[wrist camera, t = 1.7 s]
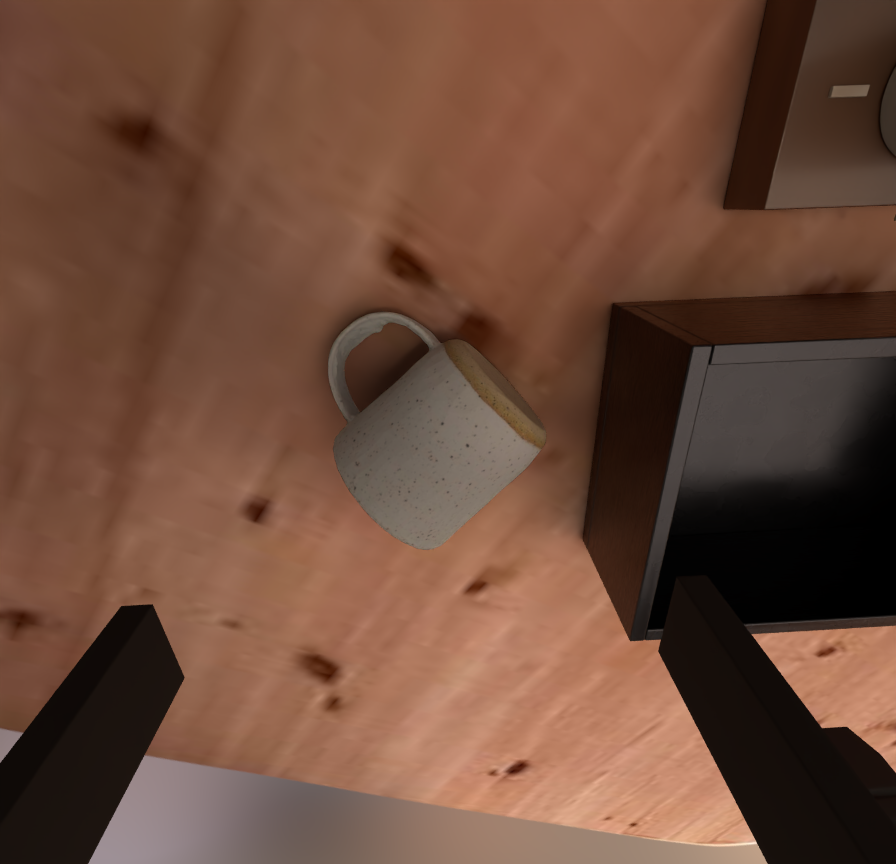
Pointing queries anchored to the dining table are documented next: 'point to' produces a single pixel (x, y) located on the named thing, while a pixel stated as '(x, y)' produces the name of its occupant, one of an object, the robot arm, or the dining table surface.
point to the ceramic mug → (430, 436)
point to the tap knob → (889, 114)
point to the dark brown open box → (749, 460)
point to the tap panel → (817, 109)
